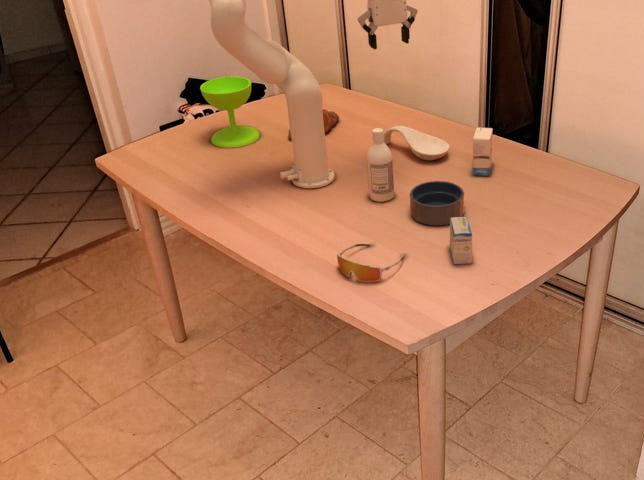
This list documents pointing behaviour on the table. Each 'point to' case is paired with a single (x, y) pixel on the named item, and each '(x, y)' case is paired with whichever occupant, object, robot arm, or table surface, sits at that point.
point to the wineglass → (230, 109)
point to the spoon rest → (420, 142)
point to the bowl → (436, 202)
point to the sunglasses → (361, 267)
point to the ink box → (482, 151)
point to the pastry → (327, 120)
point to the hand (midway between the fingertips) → (389, 45)
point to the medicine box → (460, 240)
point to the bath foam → (380, 168)
